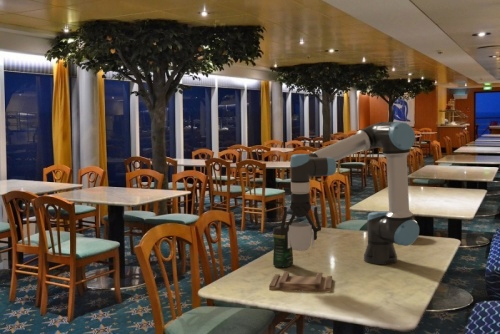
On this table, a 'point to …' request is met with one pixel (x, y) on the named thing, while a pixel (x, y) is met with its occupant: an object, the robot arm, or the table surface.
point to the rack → (301, 283)
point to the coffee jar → (281, 249)
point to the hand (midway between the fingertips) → (301, 247)
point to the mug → (300, 236)
